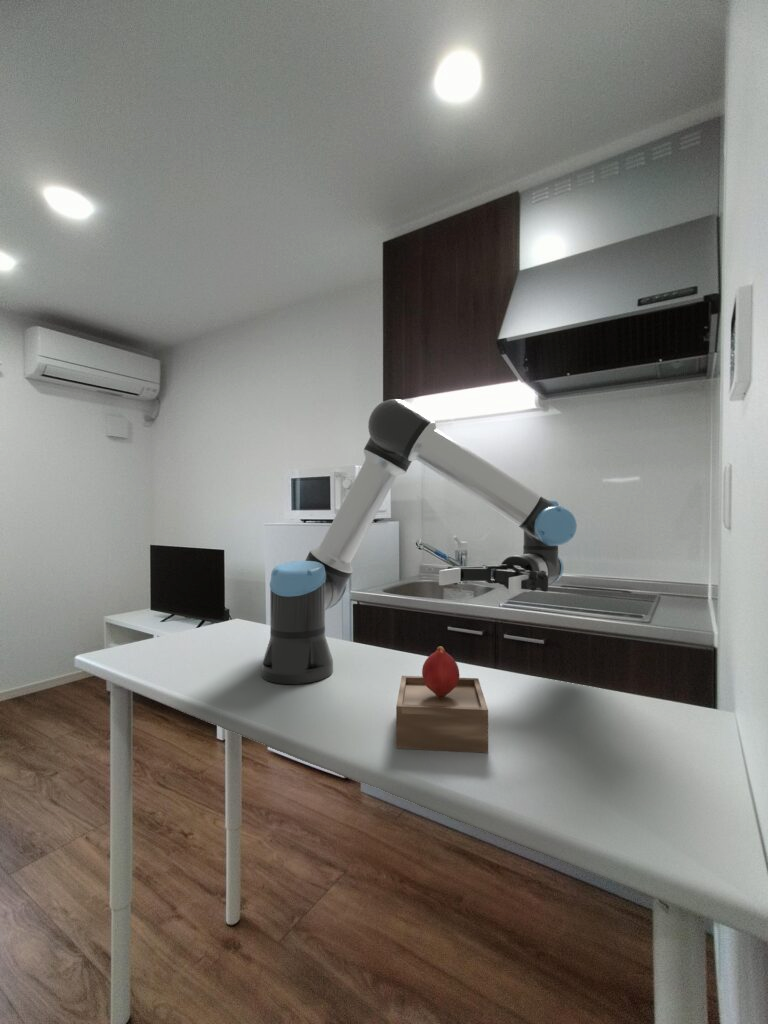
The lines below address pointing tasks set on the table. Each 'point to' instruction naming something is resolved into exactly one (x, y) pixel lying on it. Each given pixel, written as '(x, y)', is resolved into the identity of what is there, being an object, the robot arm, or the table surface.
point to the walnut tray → (441, 717)
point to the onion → (440, 673)
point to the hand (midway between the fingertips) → (473, 581)
